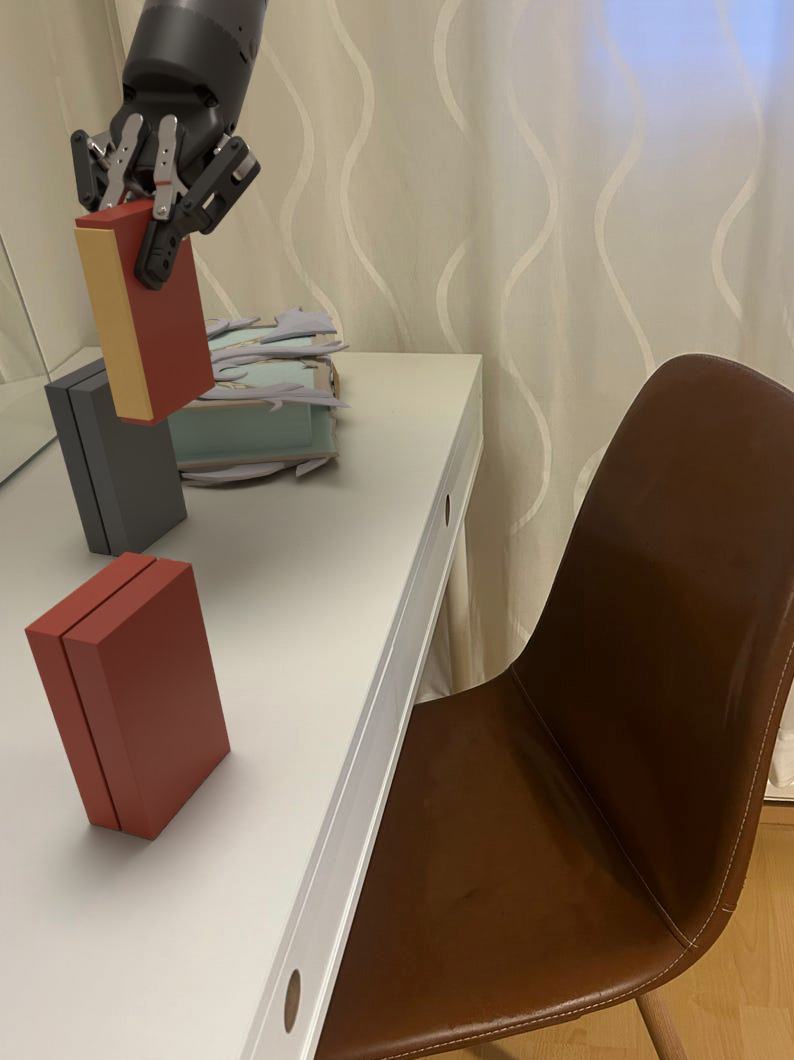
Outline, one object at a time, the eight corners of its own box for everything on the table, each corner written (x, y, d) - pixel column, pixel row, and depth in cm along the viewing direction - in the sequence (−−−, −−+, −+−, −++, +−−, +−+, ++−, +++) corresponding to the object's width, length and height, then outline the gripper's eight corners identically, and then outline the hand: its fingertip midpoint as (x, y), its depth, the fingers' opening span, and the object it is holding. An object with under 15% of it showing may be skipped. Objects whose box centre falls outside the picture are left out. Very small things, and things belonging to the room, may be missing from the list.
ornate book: (153, 397, 111) (112, 503, 86) (135, 311, 106) (86, 398, 81) (350, 383, 114) (366, 482, 89) (342, 298, 109) (356, 379, 84)
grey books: (89, 551, 80) (43, 385, 72) (147, 509, 86) (110, 352, 78) (132, 559, 78) (90, 391, 70) (188, 515, 85) (155, 357, 77)
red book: (118, 423, 66) (70, 219, 59) (186, 382, 72) (150, 194, 65) (151, 428, 65) (107, 221, 58) (216, 386, 72) (184, 196, 64)
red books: (89, 823, 54) (23, 628, 46) (172, 735, 60) (125, 551, 53) (153, 841, 53) (96, 644, 45) (231, 748, 59) (192, 562, 52)
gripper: (74, 0, 63) (-5, 240, 60) (264, 0, 59) (189, 255, 57) (140, 86, 70) (72, 304, 68) (313, 90, 66) (248, 321, 64)
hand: (126, 281), depth 62 cm, fingers closed on red book, 2 cm apart
